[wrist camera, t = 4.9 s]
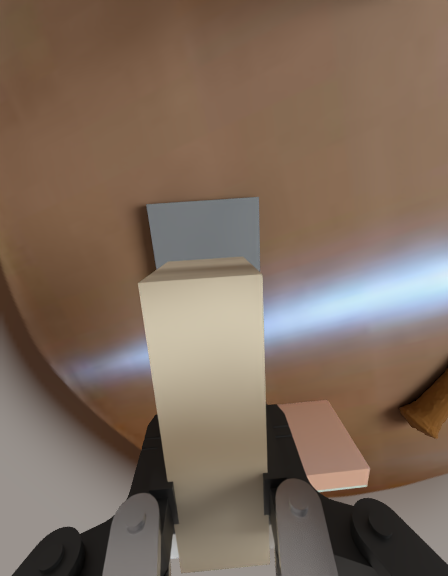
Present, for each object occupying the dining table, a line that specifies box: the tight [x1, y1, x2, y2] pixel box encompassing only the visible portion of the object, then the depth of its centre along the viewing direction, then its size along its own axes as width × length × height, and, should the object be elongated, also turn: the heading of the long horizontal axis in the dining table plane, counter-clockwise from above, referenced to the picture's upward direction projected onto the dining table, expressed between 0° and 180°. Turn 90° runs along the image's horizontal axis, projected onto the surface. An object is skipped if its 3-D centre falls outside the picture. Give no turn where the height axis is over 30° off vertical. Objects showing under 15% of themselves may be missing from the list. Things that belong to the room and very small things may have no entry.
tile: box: [278, 400, 370, 492], centre depth 22 cm, size 2×8×7 cm, turn 94°
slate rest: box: [146, 197, 260, 272], centre depth 21 cm, size 20×8×1 cm, turn 4°
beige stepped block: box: [138, 257, 274, 573], centre depth 10 cm, size 15×6×4 cm, turn 3°
